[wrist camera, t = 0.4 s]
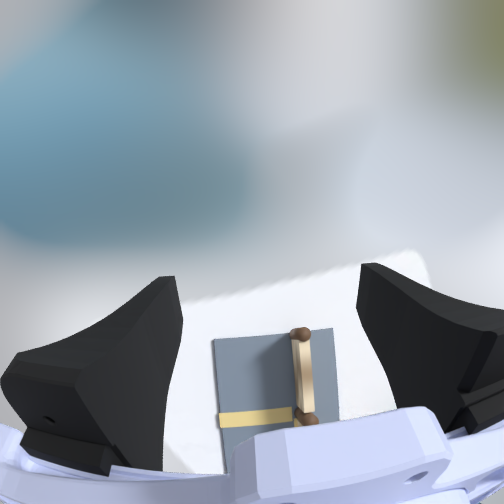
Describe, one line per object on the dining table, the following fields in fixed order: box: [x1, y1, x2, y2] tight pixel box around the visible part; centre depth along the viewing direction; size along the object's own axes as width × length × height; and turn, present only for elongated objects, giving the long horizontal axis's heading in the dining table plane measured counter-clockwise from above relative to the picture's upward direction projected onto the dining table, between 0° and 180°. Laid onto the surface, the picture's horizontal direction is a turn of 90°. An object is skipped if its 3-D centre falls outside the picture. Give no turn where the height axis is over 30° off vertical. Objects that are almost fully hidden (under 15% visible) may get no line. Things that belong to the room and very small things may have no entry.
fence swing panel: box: [289, 327, 315, 413], centre depth 34 cm, size 10×2×5 cm, turn 5°
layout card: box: [214, 328, 339, 474], centre depth 35 cm, size 19×15×1 cm
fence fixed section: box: [294, 407, 319, 427], centre depth 32 cm, size 9×2×5 cm, turn 5°
